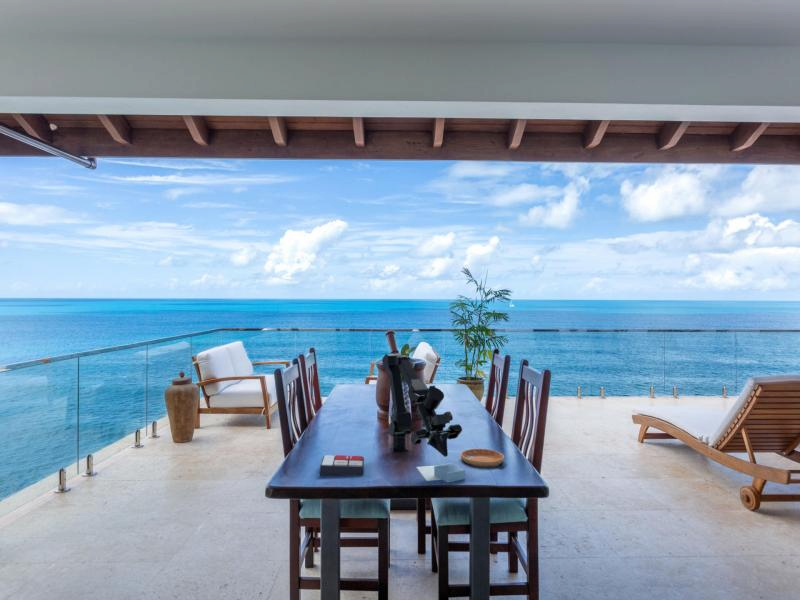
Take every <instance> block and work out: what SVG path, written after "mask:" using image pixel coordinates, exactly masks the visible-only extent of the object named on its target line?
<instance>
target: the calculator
mask: <svg viewBox="0 0 800 600" xmlns="http://www.w3.org/2000/svg"><path fill="white" fill-rule="evenodd" d="M322 457H323V458H322V459H321V462H320V464H319V465H320V466H319V476H320V475H321V476H320V477H325V476H326V477H329V476H363V475H364V468H365V466H364V465H365V457H364V456H363V455H339V454H337V455H323V456H322ZM322 475H323V476H322Z"/></svg>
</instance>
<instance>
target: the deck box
mask: <svg viewBox="0 0 800 600" xmlns="http://www.w3.org/2000/svg"><path fill="white" fill-rule="evenodd" d="M433 466H434V475H435V476H437V477H439V478H440V479H442V480H441V481H444V482H445V483H452V482H457V481H461V480H462V481H463V480H465V479H466V477H465V476H466V473H465V471H466V470H465V469H463V468H462V467H460V466H458V465H456V464H454V463H452V462H449V463H443V464H437V466H435V465H433Z"/></svg>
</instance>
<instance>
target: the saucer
mask: <svg viewBox="0 0 800 600" xmlns="http://www.w3.org/2000/svg"><path fill="white" fill-rule="evenodd" d="M460 457H461V459H462V461H463V462H464V463H466V464H467V465H471V466H475V467H482V468H483V467H484V468H487V467H488V468H489V467H494V468H495V467H498V466H499V465H500V464H502V463H503V461H504V459H505V456H504V454H503V453H501V452H499V451H496V450H492V449H487V448H471V449H465V450H464V451H462V452H461V453H460Z"/></svg>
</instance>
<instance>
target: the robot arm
mask: <svg viewBox="0 0 800 600" xmlns="http://www.w3.org/2000/svg"><path fill="white" fill-rule="evenodd" d="M381 363H382V365H383V369H384V371H385V372H386V374H387V375H388V379H389V384H390V385H389V386H390V393H391V399H392V406H393V411H392V413H391V417H390V423H389V425H388V427H387V429H386V430H387V431H386V432H387V434H388V435H389V436H391V437H392V441H391V442H392V445H390V449H391V451H392V452H394V453H395V452H408V451H409V448H408V446H407V435H412V436H410V442H411V445H413V446H417V445H420V444H421V443H422V440H425V439H427V445H429V446H431V447H432V448H433V449H435V450H436V451H437V452H439V453H440V455H442V456H443V457H445V458H447V457H448V455H449V454H448V453H449V452H448V440H455V439H457V438H458V437H459V435H460V434H461V433H462V432H463V428H462V426H461V424H459V423H456V424H450V422H452V421H453V419H454V417H453V414H452V413H451V411H446V412H443V413H442V414H437V412H436V410H437V409H438V408H439V406H440V405H441V403H442V402H443V400H444V398H445V394H444V392H443V391H442V390H441V389H439V388H438V387H436V386H435V385H429V387H428V386H427V385H426V383H424V382H422V381H421V380H420V379H419V377H418V375H417V373H416V371H415V369H414V368H413V365H412V363H411V362H410V357H409V356H408V355H404V354H403V355H402V354H400V353H399V352H398V353H387V354H386V353H385V354H384V355H383V356H382V359H381ZM402 377H403V379H404V381H405V383H406V385H407V386H408V387H407V388H408V390H407V394H408V398H409V401H410V402H411V404H414V405H415V404H418V405H417V407H416V410H415V413H416V414H417V415H420V419H421V421H422V424H421V426H422V428H423V429H422V428H421V429H415V431H414V432H413V434H412V431H413V424H414V423H413V420H412V413H411V412H410V411H408V410H407V408H406V405H405V404H406V403H405V396H404V390H403V383H402ZM446 424H450V425H449V426H448V427H447V429H445V428H446Z"/></svg>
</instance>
